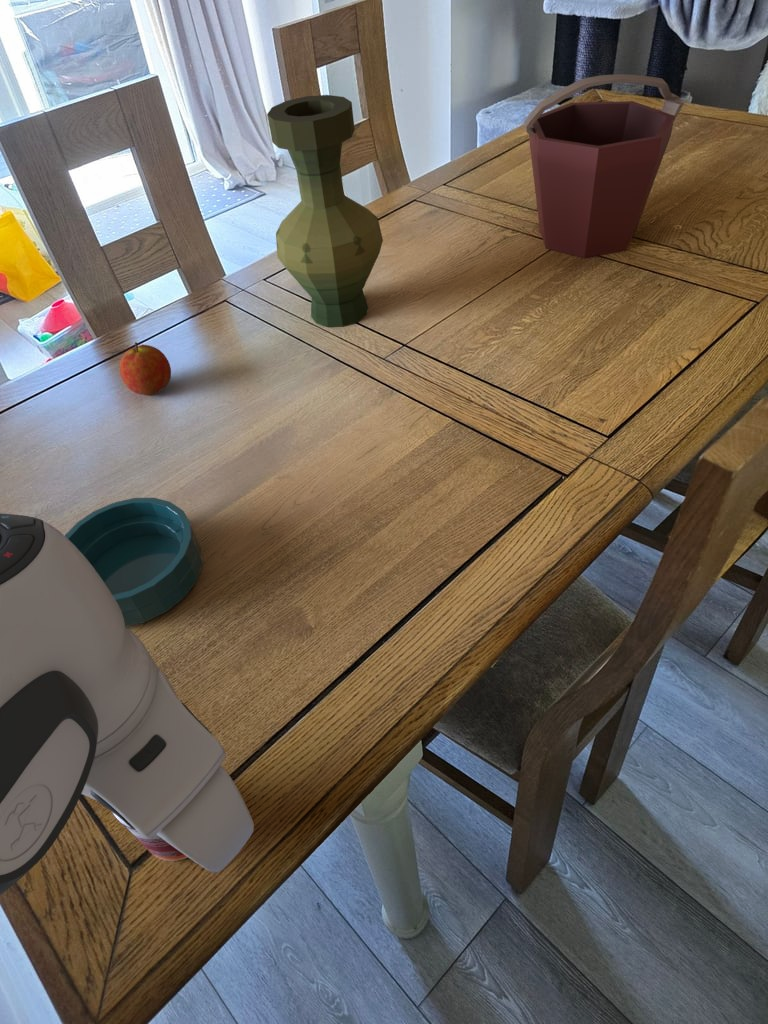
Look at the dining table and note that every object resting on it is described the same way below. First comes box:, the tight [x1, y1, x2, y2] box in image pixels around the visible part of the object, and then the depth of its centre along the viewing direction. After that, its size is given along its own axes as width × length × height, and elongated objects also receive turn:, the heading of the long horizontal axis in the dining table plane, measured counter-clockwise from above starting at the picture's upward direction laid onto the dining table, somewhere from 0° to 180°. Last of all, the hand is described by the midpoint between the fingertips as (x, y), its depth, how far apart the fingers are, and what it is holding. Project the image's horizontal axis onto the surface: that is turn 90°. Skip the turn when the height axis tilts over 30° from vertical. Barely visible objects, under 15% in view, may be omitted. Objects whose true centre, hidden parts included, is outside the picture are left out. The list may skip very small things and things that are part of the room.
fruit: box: [119, 342, 172, 397], centre depth 99 cm, size 7×7×8 cm
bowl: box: [64, 497, 203, 628], centre depth 75 cm, size 15×15×5 cm
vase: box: [266, 94, 384, 328], centre depth 103 cm, size 16×16×30 cm
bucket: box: [523, 73, 685, 259], centre depth 115 cm, size 24×22×25 cm
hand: (167, 795), depth 54 cm, fingers open, 8 cm apart
